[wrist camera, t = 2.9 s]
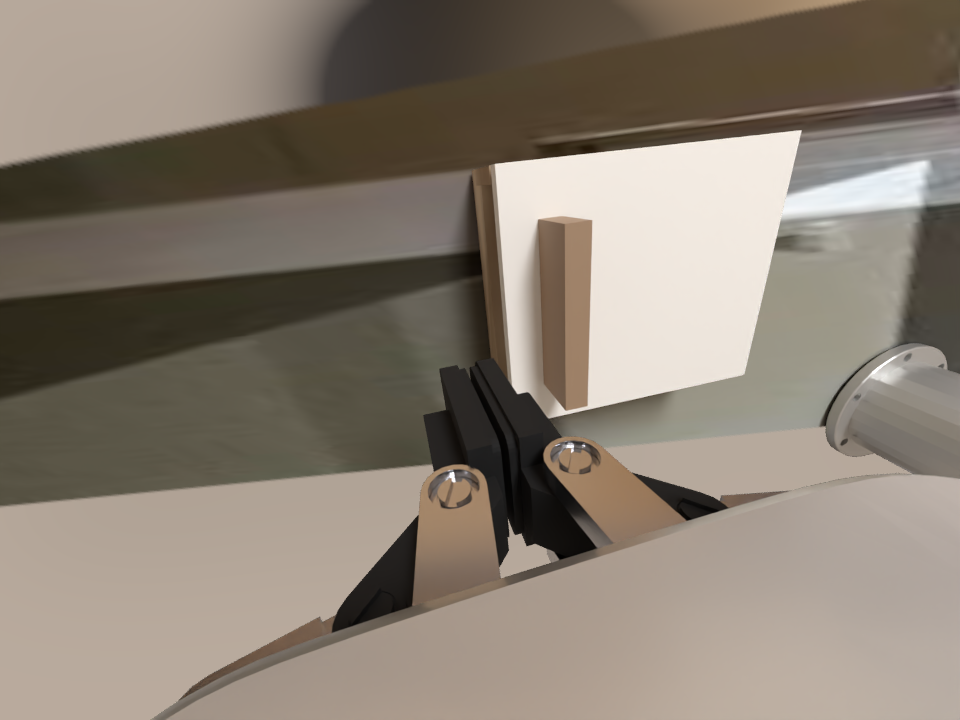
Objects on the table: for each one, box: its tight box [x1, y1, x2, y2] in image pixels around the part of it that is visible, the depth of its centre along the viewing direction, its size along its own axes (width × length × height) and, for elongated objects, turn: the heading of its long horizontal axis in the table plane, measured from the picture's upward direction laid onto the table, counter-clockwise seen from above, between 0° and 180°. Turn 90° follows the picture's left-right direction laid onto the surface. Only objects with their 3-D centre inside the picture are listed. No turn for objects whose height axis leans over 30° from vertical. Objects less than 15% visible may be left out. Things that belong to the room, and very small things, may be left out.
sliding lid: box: [491, 130, 802, 418], centre depth 19 cm, size 16×14×4 cm
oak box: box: [472, 166, 508, 379], centre depth 23 cm, size 16×14×4 cm
